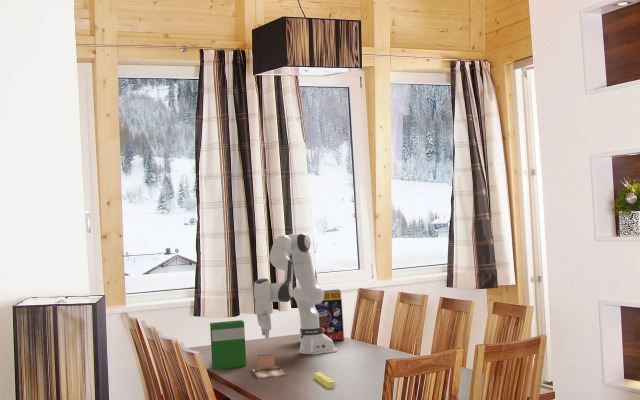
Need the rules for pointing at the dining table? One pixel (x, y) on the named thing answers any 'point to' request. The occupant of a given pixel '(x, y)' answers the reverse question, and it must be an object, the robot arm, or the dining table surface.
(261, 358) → the block
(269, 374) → the board
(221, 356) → the hardback book
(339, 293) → the cereal box
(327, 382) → the yellow segmented bar
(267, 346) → the dining table surface
